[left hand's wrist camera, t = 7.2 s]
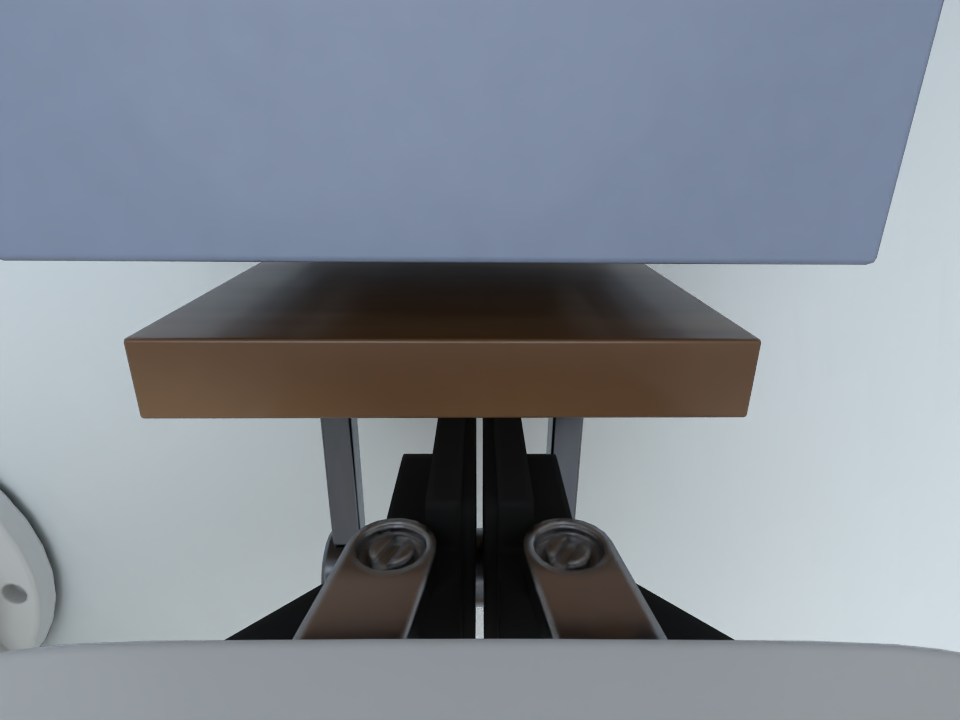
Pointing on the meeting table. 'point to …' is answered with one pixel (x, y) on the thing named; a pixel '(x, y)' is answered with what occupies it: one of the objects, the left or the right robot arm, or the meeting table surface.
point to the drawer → (441, 356)
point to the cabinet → (456, 129)
